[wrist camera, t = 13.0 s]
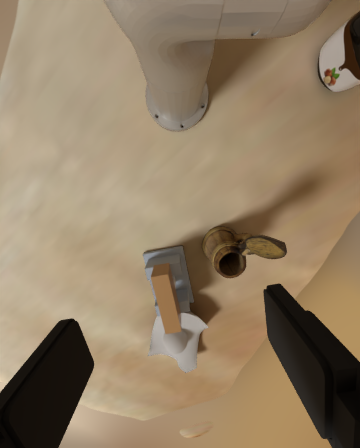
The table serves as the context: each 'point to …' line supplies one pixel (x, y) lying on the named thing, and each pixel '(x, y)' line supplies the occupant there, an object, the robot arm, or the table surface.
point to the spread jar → (341, 57)
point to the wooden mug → (238, 249)
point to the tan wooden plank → (166, 298)
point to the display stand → (178, 272)
